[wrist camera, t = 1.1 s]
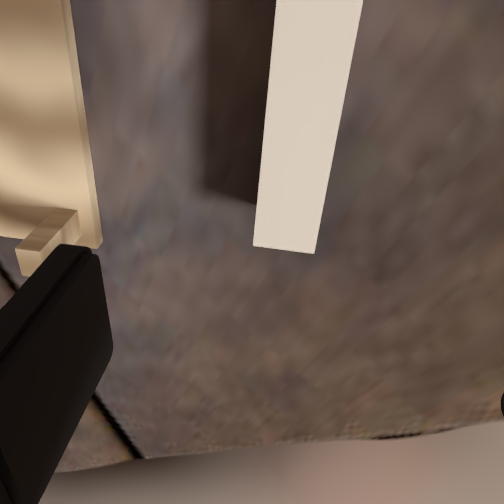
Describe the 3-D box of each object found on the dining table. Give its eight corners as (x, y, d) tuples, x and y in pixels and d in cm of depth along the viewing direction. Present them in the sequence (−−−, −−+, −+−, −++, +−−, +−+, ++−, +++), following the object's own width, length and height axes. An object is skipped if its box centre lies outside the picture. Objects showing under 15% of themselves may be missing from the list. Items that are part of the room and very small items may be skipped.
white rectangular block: (293, -103, 20) (287, -117, 16) (369, -96, 20) (384, -109, 16) (261, 204, 29) (253, 245, 25) (314, 211, 29) (314, 253, 25)
